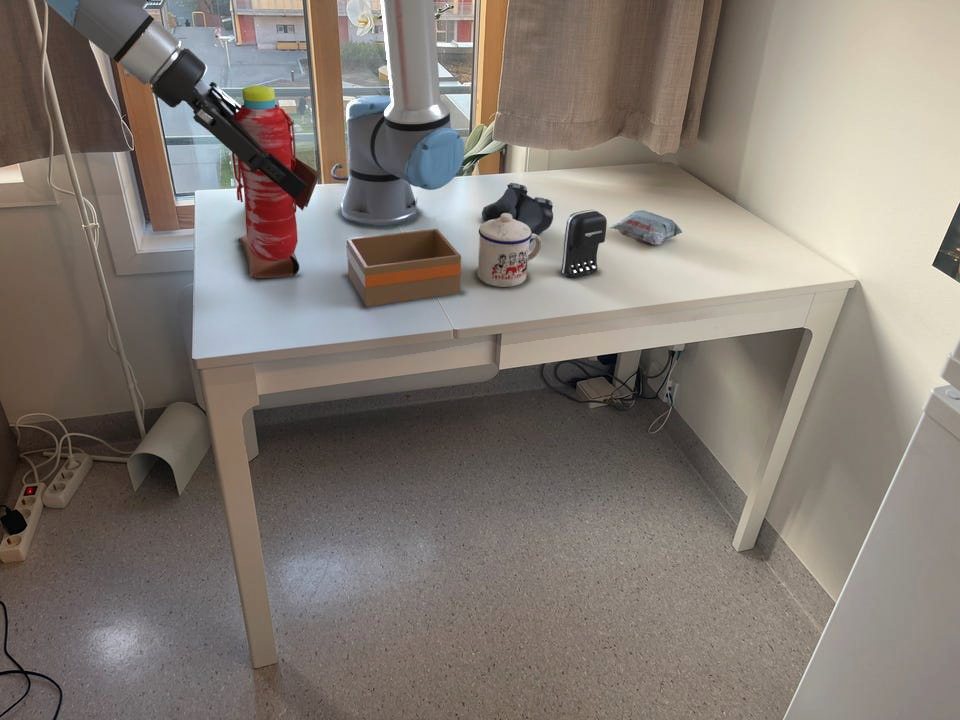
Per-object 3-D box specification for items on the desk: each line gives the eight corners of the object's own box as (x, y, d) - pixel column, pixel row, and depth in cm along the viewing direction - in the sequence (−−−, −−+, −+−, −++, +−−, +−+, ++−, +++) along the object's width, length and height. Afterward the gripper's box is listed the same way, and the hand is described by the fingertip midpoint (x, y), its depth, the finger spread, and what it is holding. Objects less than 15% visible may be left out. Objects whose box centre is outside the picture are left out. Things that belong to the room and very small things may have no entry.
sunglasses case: (234, 236, 140) (250, 205, 138) (269, 250, 144) (285, 220, 142) (250, 279, 126) (267, 245, 124) (288, 292, 130) (305, 260, 128)
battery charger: (571, 281, 133) (579, 220, 126) (559, 272, 135) (566, 212, 129) (602, 274, 136) (611, 214, 130) (589, 265, 138) (598, 207, 132)
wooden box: (347, 276, 130) (345, 238, 126) (436, 264, 136) (437, 228, 132) (365, 307, 121) (364, 268, 117) (459, 293, 126) (461, 256, 123)
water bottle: (310, 238, 123) (299, 78, 110) (329, 256, 117) (319, 89, 104) (236, 250, 117) (216, 82, 104) (252, 269, 111) (232, 94, 98)
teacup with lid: (491, 292, 127) (495, 228, 121) (467, 270, 134) (470, 208, 128) (550, 280, 132) (558, 218, 126) (525, 259, 139) (530, 200, 133)
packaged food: (659, 254, 144) (664, 230, 142) (607, 235, 151) (611, 212, 148) (680, 242, 150) (686, 218, 147) (630, 224, 156) (634, 202, 154)
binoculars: (544, 256, 147) (569, 210, 144) (520, 247, 142) (545, 199, 140) (499, 226, 158) (521, 183, 156) (476, 217, 154) (498, 172, 151)
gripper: (158, 70, 108) (283, 176, 121) (136, 107, 92) (283, 226, 104) (191, 31, 107) (314, 143, 119) (174, 62, 90) (319, 188, 102)
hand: (299, 181), depth 111 cm, fingers closed on water bottle, 7 cm apart
